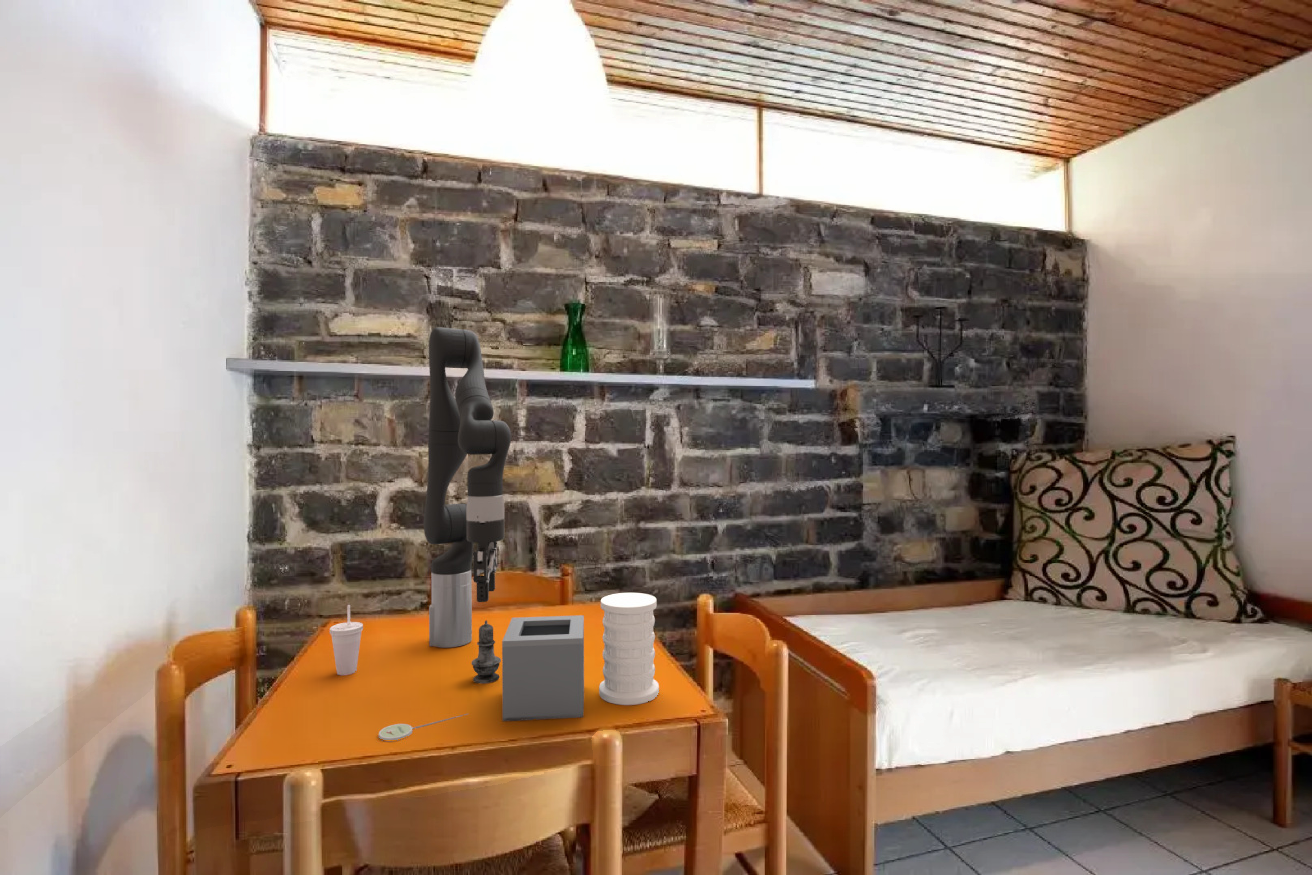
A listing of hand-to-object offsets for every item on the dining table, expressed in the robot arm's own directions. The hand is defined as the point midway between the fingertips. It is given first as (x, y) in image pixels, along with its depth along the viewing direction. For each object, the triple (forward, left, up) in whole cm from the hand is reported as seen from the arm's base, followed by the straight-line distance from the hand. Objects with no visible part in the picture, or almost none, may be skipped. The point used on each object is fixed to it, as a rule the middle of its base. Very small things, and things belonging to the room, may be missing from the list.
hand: (486, 596), depth 128 cm
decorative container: (+29, -10, -17) cm, 35 cm away
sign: (-7, -20, -18) cm, 28 cm away
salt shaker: (0, 0, -17) cm, 17 cm away
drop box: (+13, -13, -17) cm, 25 cm away
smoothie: (-30, +7, -17) cm, 35 cm away
